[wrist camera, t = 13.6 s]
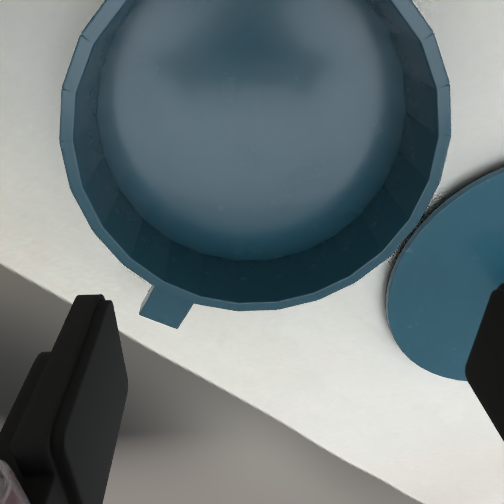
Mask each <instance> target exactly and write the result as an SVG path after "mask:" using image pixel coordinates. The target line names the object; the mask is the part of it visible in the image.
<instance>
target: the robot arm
mask: <svg viewBox="0 0 504 504" xmlns="http://www.w3.org/2000/svg"><path fill="white" fill-rule="evenodd" d="M465 375H466V379H467V381H468V383H469V384H470V386H471V388H472V389H473V391H474V393H475V394H476V396H477V398H478V399H479V401H480V403H481V404H482V406H483V408H484V409H485V411H486V413H487V414H488V416H489V418H490V419H491V421H492V423H493V424H494V426H495V428H496V429H497V431H498V432H499V434H500V436H501V437H502V439H503V441H504V283H503V284H501V285H500V286H498V288H497V289H495V290H493V291H492V293H491V295H490V298H489V301H488V304H487V306H486V309H485V312H484V315H483V318H482V321H481V323H480V326H479V329H478V332H477V335H476V337H475V340H474V343H473V346H472V349H471V352H470V354H469V357H468V360H467V363H466V366H465ZM127 392H128V378H127V373H126V368H125V363H124V358H123V353H122V348H121V342H120V337H119V332H118V327H117V322H116V317H115V312H114V306H113V302H112V301H111V300H105V298H104V296H103V295H102V294H100V295H78V296H77V297H76V298H75V300H74V302H73V305H72V307H71V309H70V312H69V314H68V316H67V318H66V320H65V322H64V325H63V327H62V329H61V331H60V334H59V336H58V338H57V340H56V342H55V345H54V347H53V349H52V351H51V352H41V353H40V354H39V355H38V356H37V358H36V359H35V361H34V363H33V365H32V367H31V370H30V372H29V374H28V376H27V378H26V380H25V382H24V384H23V386H22V389H21V390H20V392H19V394H18V397H17V399H16V401H15V403H14V405H13V407H12V409H11V411H10V413H9V415H8V417H7V419H6V421H5V423H4V425H3V428H2V430H1V432H0V504H102V503H103V499H104V494H105V490H106V486H107V481H108V476H109V472H110V468H111V464H112V459H113V455H114V450H115V446H116V441H117V437H118V432H119V428H120V423H121V419H122V415H123V410H124V406H125V402H126V397H127Z"/></svg>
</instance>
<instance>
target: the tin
mask: <svg viewBox="0 0 504 504" xmlns="http://www.w3.org/2000/svg"><path fill="white" fill-rule="evenodd" d="M450 138H451V108H450V85H449V79H448V76H447V73H446V70H445V67H444V64H443V60H442V57H441V54H440V51H439V48H438V45H437V42H436V38H435V35H434V33H433V31H432V29H431V28H430V26H429V25H428V23H427V22H426V21H425V19H424V18H423V16H422V15H421V13H420V12H419V11H418V9H417V8H416V6H415V5H414V3H413V2H412V0H105V1H104V3H103V4H102V5H101V7H100V8H99V10H98V11H97V12H96V14H95V15H94V16H93V18H92V19H91V20H90V22H89V23H88V24H87V26H86V27H85V29H84V30H83V31H82V33H81V35H80V37H79V39H78V42H77V45H76V48H75V51H74V54H73V57H72V60H71V63H70V65H69V68H68V71H67V74H66V77H65V80H64V83H63V86H62V93H61V114H60V136H59V140H60V147H61V151H62V155H63V160H64V164H65V168H66V172H67V177H68V181H69V185H70V189H71V191H72V193H73V195H74V197H75V199H76V201H77V203H78V204H79V206H80V208H81V210H82V212H83V214H84V216H85V218H86V219H87V221H88V223H89V225H90V227H91V229H92V230H93V232H94V233H95V234H96V235H97V236H98V238H99V239H100V240H101V241H102V242H103V243H104V244H105V245H106V246H107V247H108V249H109V250H110V251H111V252H112V253H113V254H114V255H115V256H116V257H117V259H118V260H119V261H120V262H121V263H122V264H123V265H124V266H126V267H127V268H129V269H130V270H132V271H133V272H134V273H136V274H137V275H139V276H140V277H142V278H143V279H145V280H146V281H148V282H149V283H150V284H152V286H151V288H150V290H149V291H148V293H147V295H146V297H145V299H144V300H143V302H142V304H141V308H140V312H139V315H141V316H144V317H147V318H149V319H152V320H155V321H157V322H160V323H163V324H165V325H168V326H170V327H173V328H176V329H178V327H179V326H180V324H181V323H182V321H183V320H184V318H185V316H186V315H187V313H188V312H189V310H190V309H191V307H192V305H193V304H194V303H195V304H199V305H205V306H211V307H216V308H222V309H228V310H234V311H255V310H277V309H283V308H287V307H291V306H295V305H300V304H304V303H308V302H312V301H316V300H317V299H318V300H319V299H321V298H323V297H326V296H328V295H330V294H332V293H334V292H336V291H338V290H340V289H343V288H345V287H347V286H349V285H351V284H353V283H355V282H357V281H358V280H359V279H361V278H362V277H363V276H365V275H366V274H367V273H369V272H370V271H371V270H373V269H374V268H375V267H377V266H378V265H379V264H381V263H382V262H383V261H385V260H386V259H387V258H389V256H391V255H392V254H393V252H394V251H395V250H396V249H397V248H398V247H399V245H400V244H401V243H402V242H403V241H404V240H405V238H406V237H407V236H408V235H409V234H410V233H411V231H412V230H413V229H414V228H415V227H416V226H417V224H418V222H419V221H420V219H421V218H422V216H423V214H424V212H425V210H426V208H427V206H428V204H429V202H430V200H431V198H432V196H433V194H434V193H435V191H436V189H437V187H438V185H439V182H440V180H441V176H442V172H443V168H444V163H445V159H446V155H447V151H448V147H449V143H450Z"/></svg>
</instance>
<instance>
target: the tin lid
mask: <svg viewBox="0 0 504 504" xmlns="http://www.w3.org/2000/svg"><path fill="white" fill-rule="evenodd" d="M503 283H504V167H502V168H500V169H498V170H495V171H493V172H491V173H488V174H486V175H485V176H483V177H481V178H479V179H477V180H476V181H474V182H472V183H470V184H468V185H467V186H465V187H464V188H463V189H461V190H460V191H458V192H457V193H455V194H454V195H452V196H451V197H450V198H448V199H447V200H446V201H445V202H444V203H442V204H441V205H440V206H439V207H438V208H437V209H435V210H434V211H433V212H432V213H431V214H430V215H429V216H428V217H427V218H426V219H425V220H424V221H423V223H422V224H421V225H420V226H419V227H418V228H417V229H416V231H415V232H414V233H413V235H412V236H411V237H410V239H409V240H408V241H407V243H406V244H405V246H404V248H403V249H402V251H401V253H400V254H399V256H398V258H397V260H396V263H395V265H394V267H393V270H392V272H391V275H390V279H389V282H388V286H387V293H386V316H387V320H388V325H389V328H390V330H391V332H392V335H393V337H394V339H395V341H396V343H397V344H398V346H399V347H400V349H401V350H402V352H403V353H404V354H405V355H406V356H407V357H408V358H409V359H410V360H412V361H413V362H414V363H416V364H417V365H419V366H420V367H422V368H424V369H425V370H427V371H429V372H431V373H434V374H437V375H440V376H442V377H446V378H451V379H455V380H462V381H467V379H466V375H465V366H466V363H467V360H468V357H469V354H470V352H471V349H472V346H473V343H474V340H475V337H476V335H477V332H478V329H479V326H480V323H481V321H482V318H483V315H484V312H485V309H486V306H487V304H488V301H489V298H490V295H491V293H492V291H493V290H495V289H497V288H498V286H500V285H501V284H503Z"/></svg>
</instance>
